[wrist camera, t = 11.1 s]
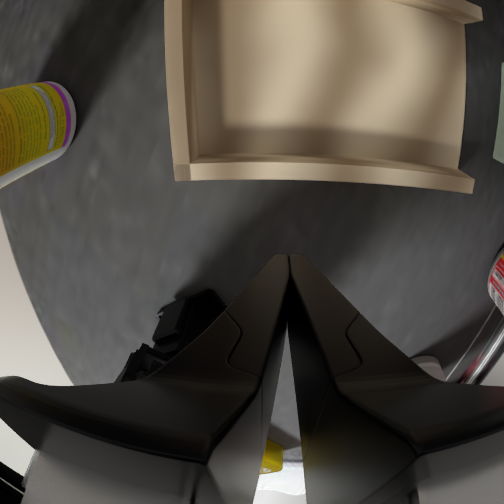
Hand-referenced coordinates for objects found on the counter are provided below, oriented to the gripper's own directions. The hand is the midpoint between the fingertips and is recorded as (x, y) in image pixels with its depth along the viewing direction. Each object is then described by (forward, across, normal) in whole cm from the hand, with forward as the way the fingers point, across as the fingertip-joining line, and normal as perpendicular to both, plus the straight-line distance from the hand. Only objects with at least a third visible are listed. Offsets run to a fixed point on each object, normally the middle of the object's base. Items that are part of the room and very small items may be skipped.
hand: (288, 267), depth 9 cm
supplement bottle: (+12, +18, -5) cm, 22 cm away
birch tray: (+12, -3, -6) cm, 14 cm away
